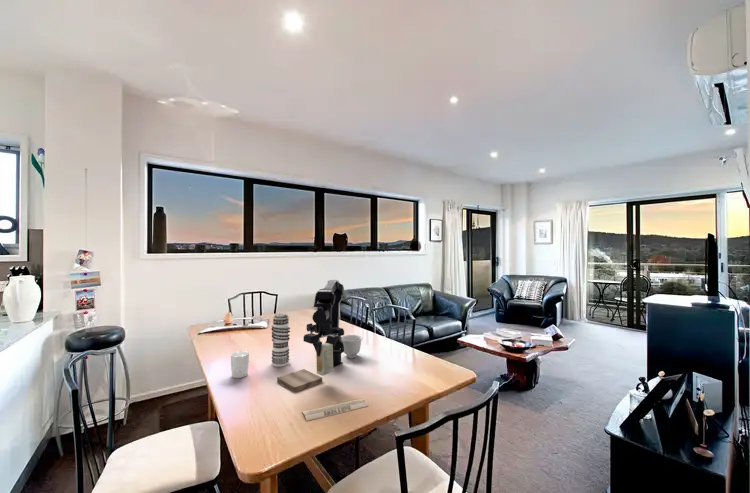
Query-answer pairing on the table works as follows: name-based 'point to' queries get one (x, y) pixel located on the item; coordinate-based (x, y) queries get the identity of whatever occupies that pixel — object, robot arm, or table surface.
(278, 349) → the decorative candle
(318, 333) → the robot arm
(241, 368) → the white cup
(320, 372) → the skincare box
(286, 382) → the walnut block
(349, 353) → the teacup
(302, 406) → the table surface
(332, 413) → the newspaper
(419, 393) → the table surface
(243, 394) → the table surface
